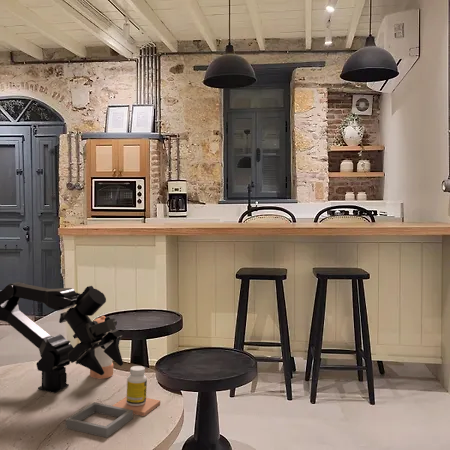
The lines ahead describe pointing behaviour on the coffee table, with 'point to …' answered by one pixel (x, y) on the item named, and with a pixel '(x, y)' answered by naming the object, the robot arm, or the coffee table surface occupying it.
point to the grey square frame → (95, 429)
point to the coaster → (141, 409)
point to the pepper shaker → (102, 359)
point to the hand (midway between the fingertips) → (112, 369)
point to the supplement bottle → (136, 386)
